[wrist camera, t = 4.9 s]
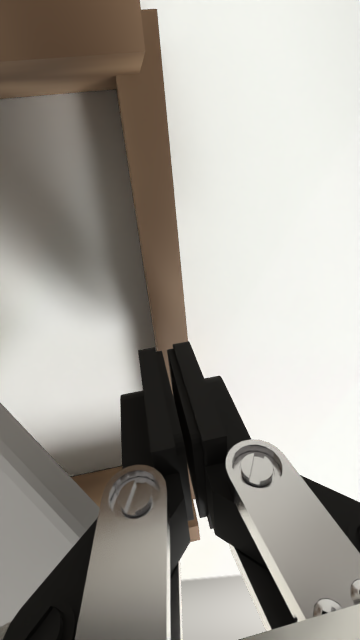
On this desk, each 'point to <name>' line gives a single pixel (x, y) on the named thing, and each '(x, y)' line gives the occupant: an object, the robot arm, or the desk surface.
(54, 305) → the desk surface
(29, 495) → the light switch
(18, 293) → the desk surface
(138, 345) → the desk surface
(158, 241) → the walnut open frame
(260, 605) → the robot arm
